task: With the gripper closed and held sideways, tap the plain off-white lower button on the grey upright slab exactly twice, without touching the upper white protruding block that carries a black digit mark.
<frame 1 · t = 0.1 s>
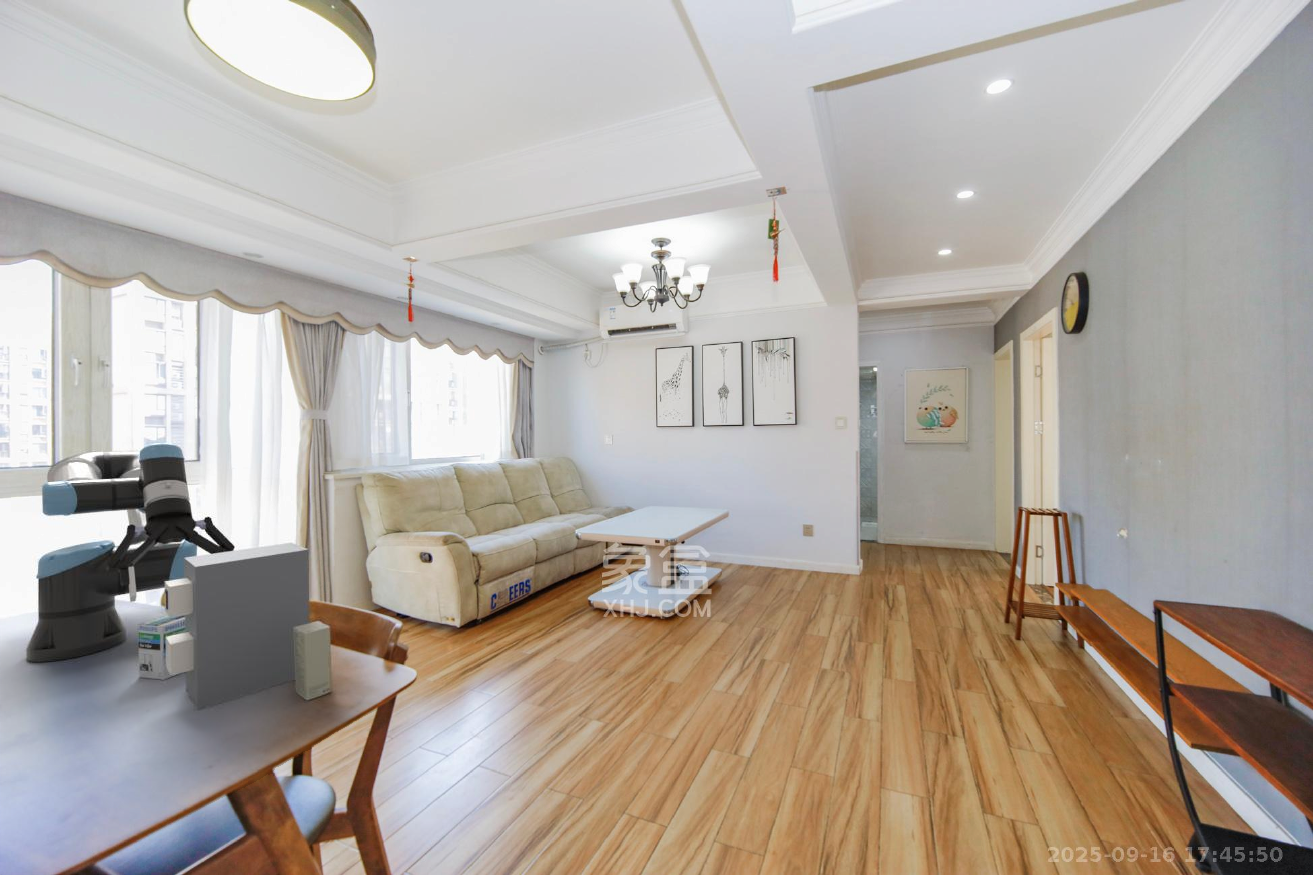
hand: (178, 590, 109), 15 cm above the table, tool tilted 35°, fingers open, 13 cm apart
light bulb box: (179, 668, 107), on the table
skincare box: (313, 692, 96), on the table
plain button: (190, 650, 93), point 9 cm above the table, slide at 0.0 cm
white protruding block: (189, 595, 93), point 19 cm above the table, slide at 0.0 cm
grey upright slab: (253, 681, 100), on the table
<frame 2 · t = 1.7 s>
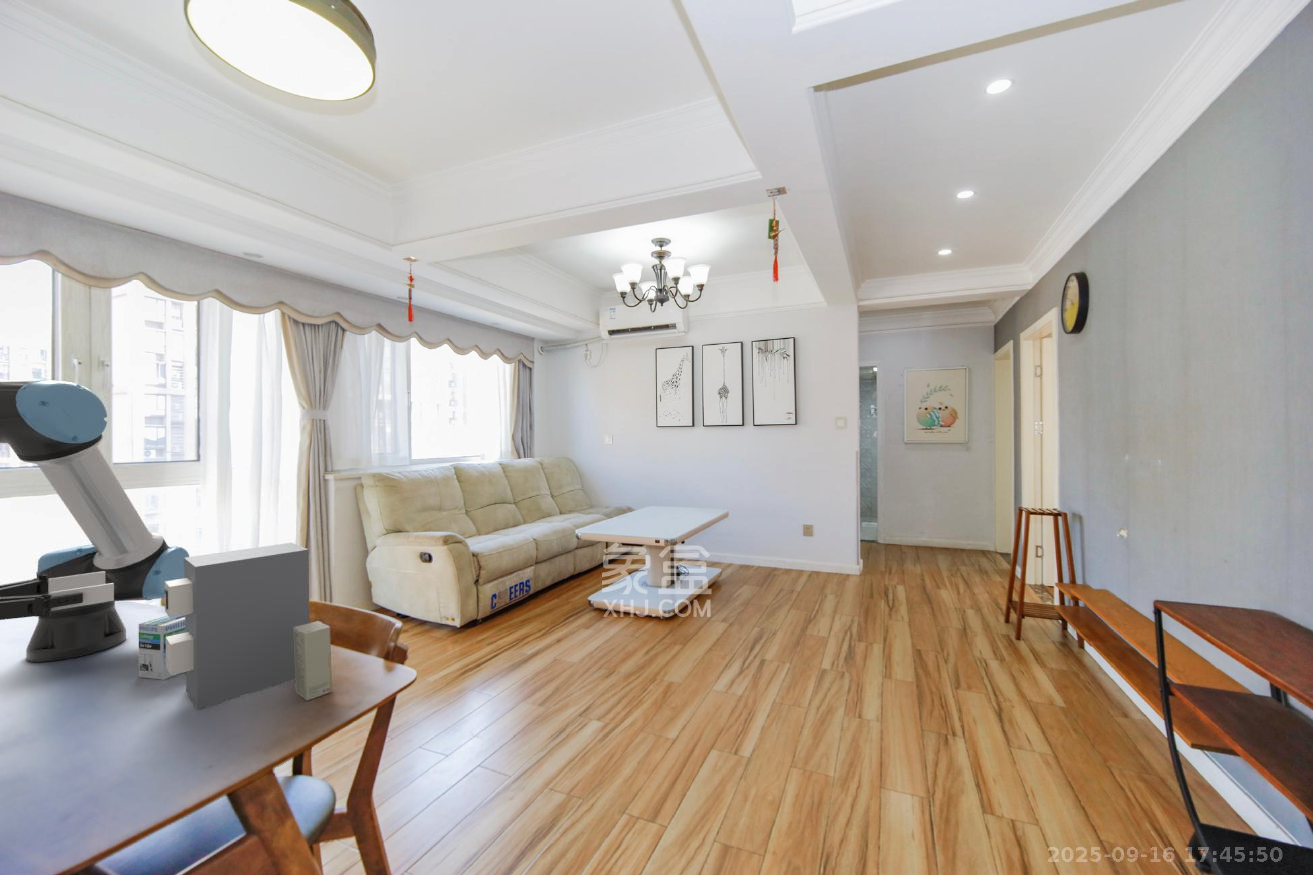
hand: (109, 584, 87), 23 cm above the table, tool horizontal, fingers open, 13 cm apart
nothing on the table moved.
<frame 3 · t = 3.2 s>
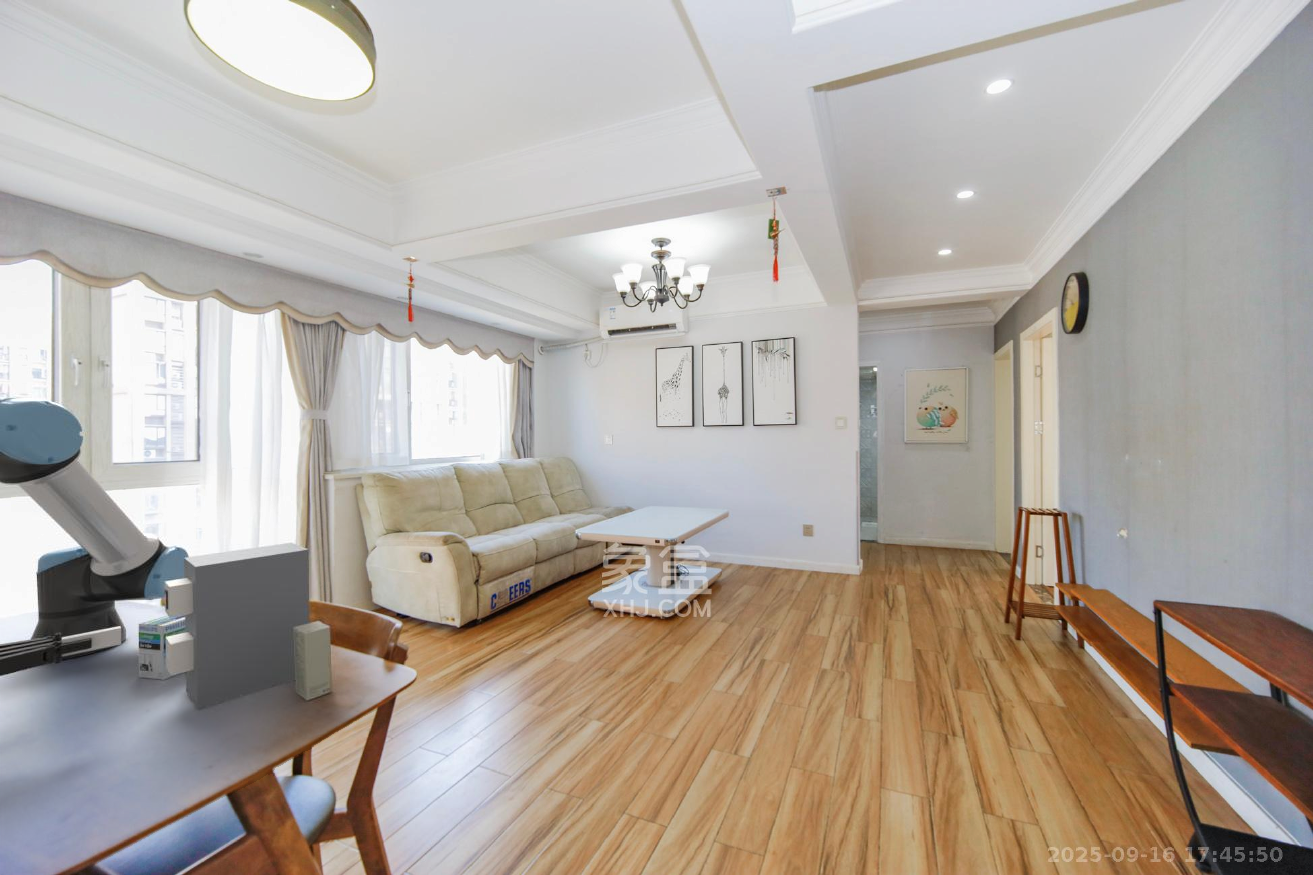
hand: (120, 634, 87), 14 cm above the table, tool horizontal, fingers closed
nothing on the table moved.
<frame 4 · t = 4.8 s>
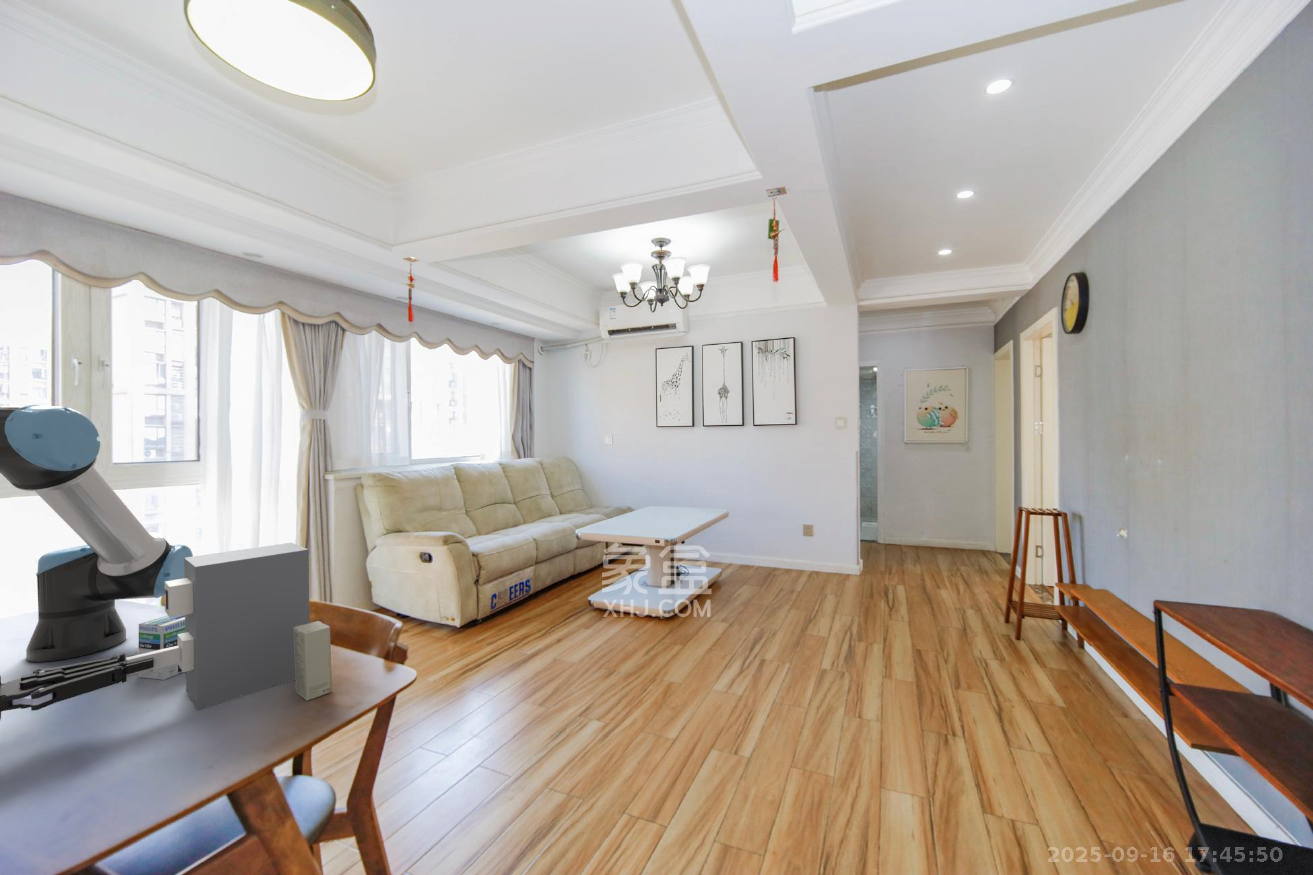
hand: (178, 654, 92), 9 cm above the table, tool horizontal, fingers closed
plain button: (202, 647, 95), point 9 cm above the table, slide at 1.6 cm, touching gripper
everything else where it was.
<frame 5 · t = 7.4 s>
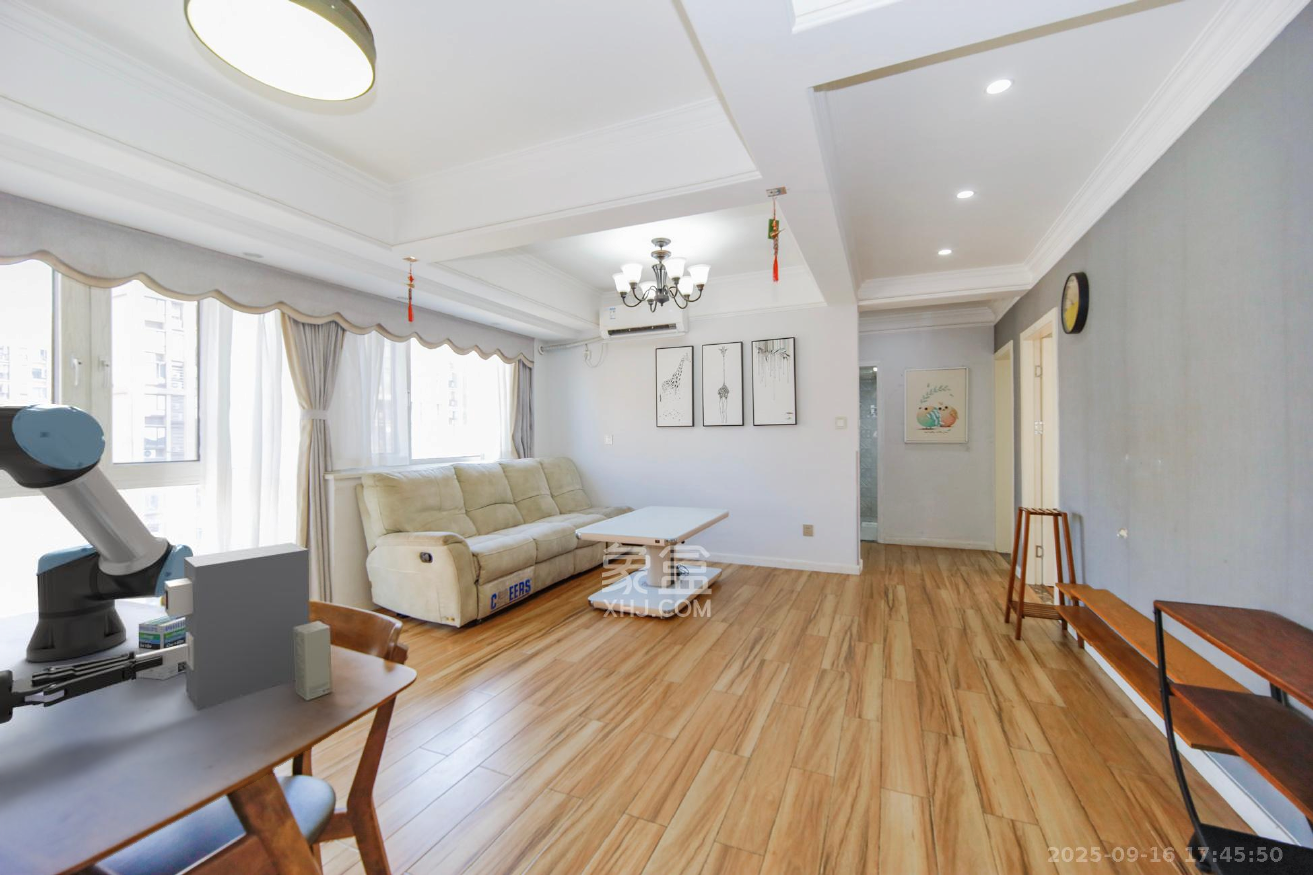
hand: (186, 651, 93), 9 cm above the table, tool horizontal, fingers closed
plain button: (210, 645, 96), point 9 cm above the table, slide at 2.7 cm, touching gripper
everything else where it was.
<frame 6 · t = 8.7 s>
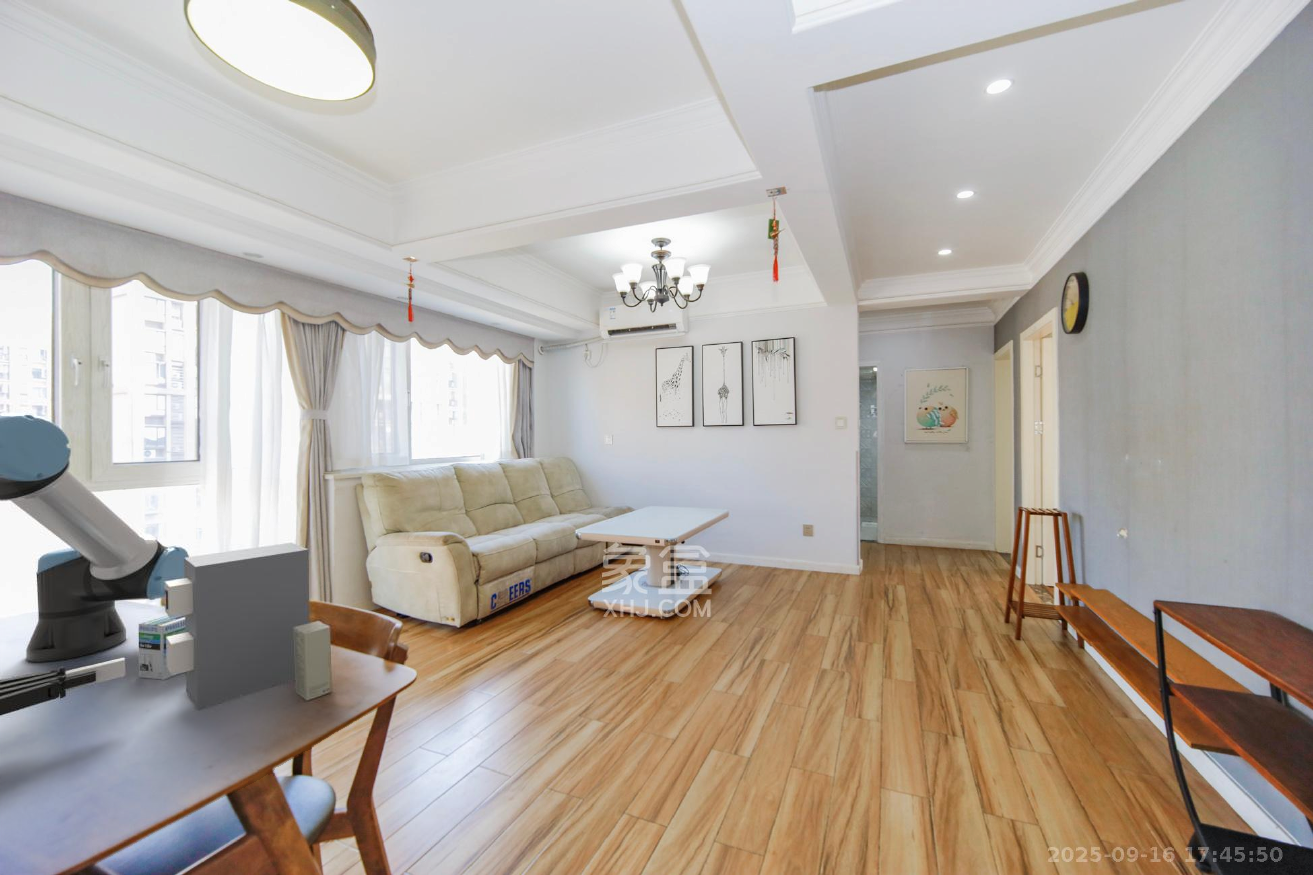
hand: (124, 666, 87), 9 cm above the table, tool horizontal, fingers closed
plain button: (191, 650, 93), point 9 cm above the table, slide at 0.1 cm
everything else where it was.
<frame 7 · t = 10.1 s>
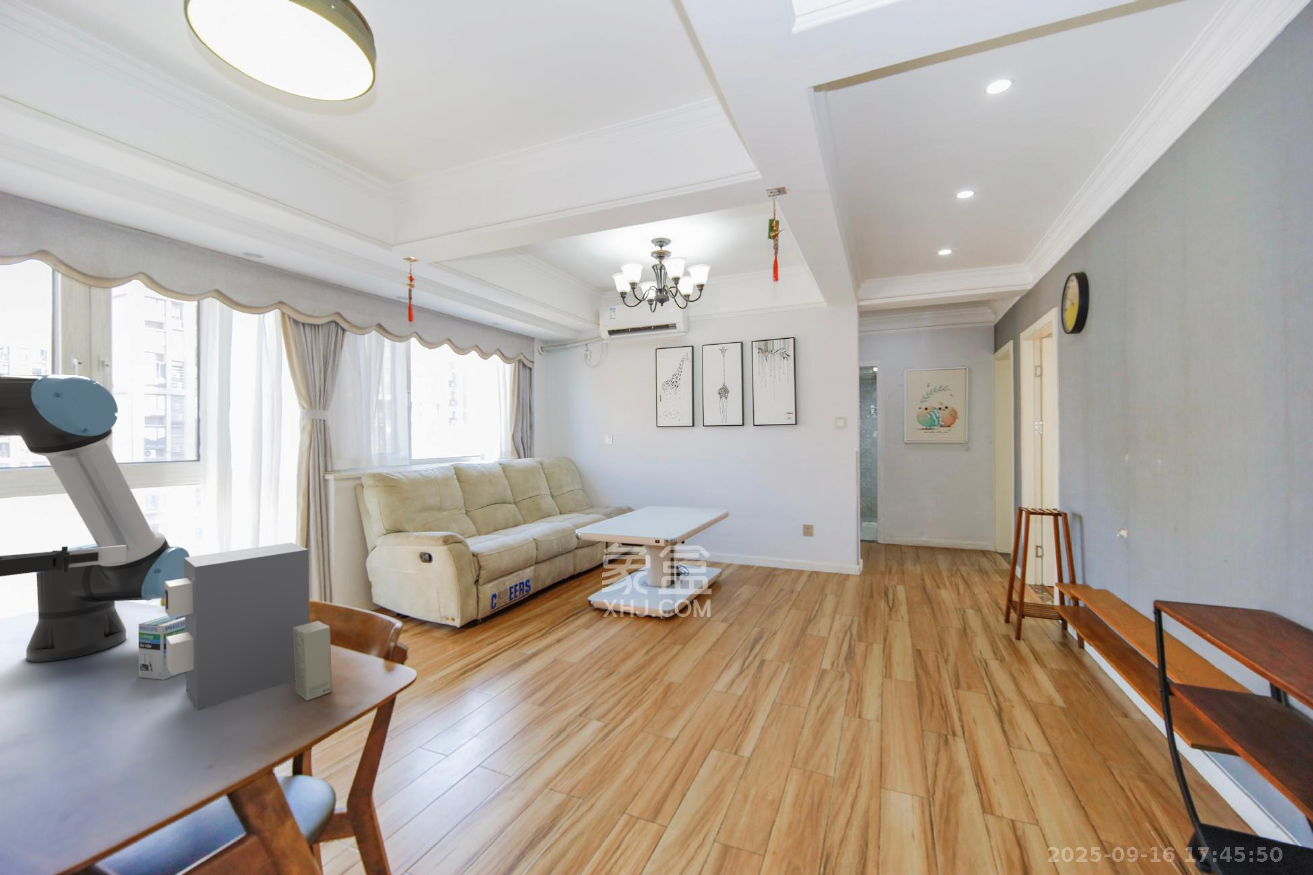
hand: (125, 553, 90), 28 cm above the table, tool horizontal, fingers closed
nothing on the table moved.
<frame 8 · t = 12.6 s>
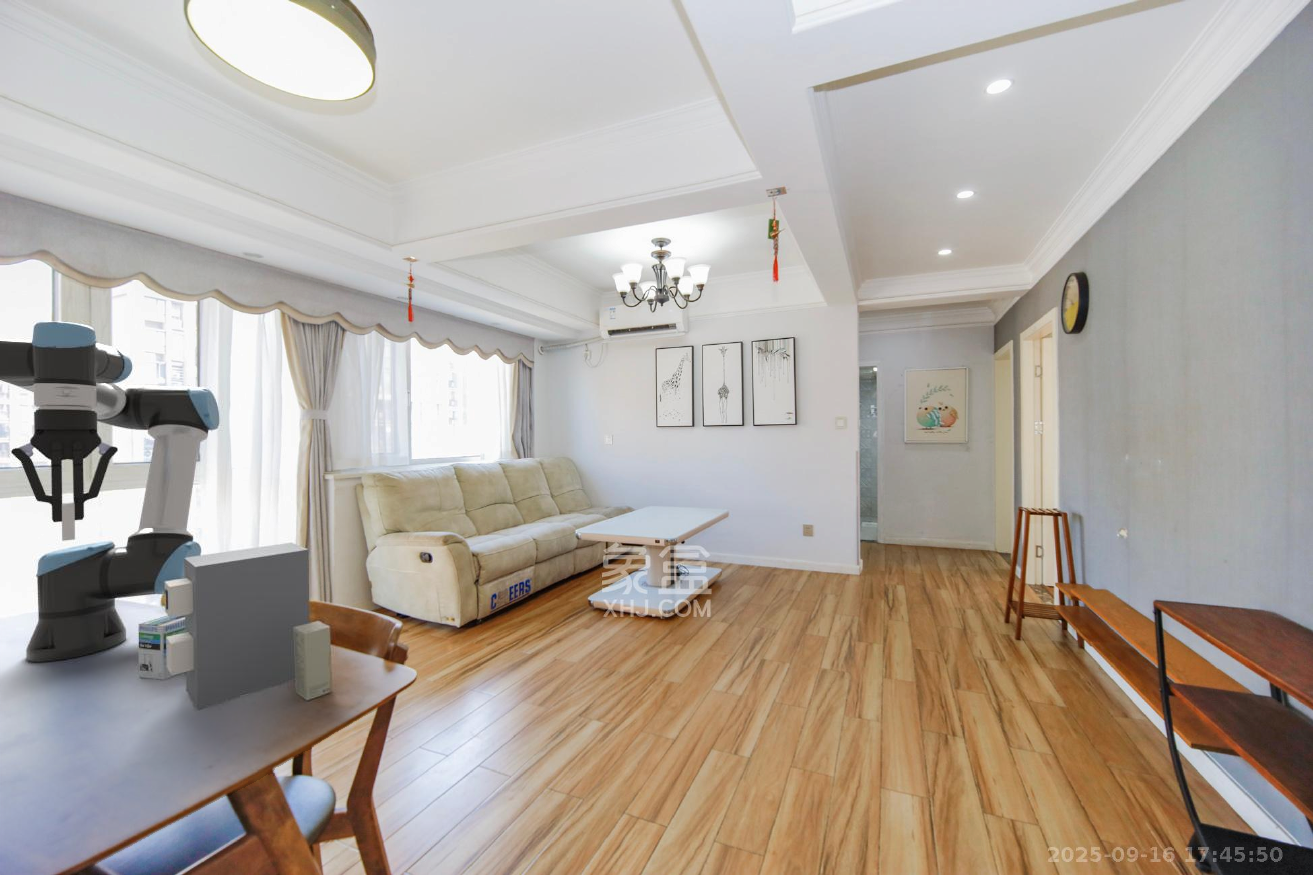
hand: (68, 539, 94), 29 cm above the table, tool pointing down, fingers closed
nothing on the table moved.
at the end: plain button slide at 0.1 cm; white protruding block slide at 0.0 cm; skincare box moved 0.2 cm from its start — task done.
